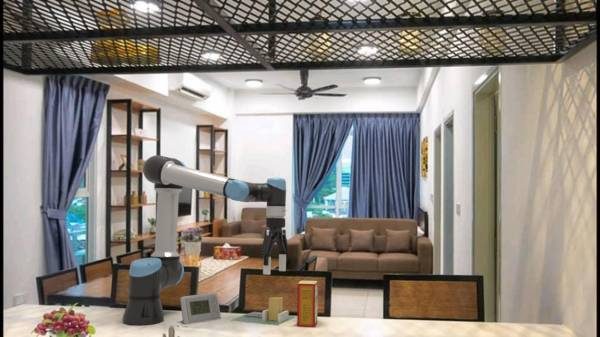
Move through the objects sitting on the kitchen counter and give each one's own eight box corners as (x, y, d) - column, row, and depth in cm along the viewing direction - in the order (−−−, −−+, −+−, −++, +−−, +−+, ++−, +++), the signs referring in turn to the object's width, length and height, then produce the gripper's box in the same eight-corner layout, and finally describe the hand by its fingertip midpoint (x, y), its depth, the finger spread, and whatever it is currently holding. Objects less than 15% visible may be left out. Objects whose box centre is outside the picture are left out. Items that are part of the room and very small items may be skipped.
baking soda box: (300, 321, 188) (301, 279, 189) (317, 322, 187) (317, 279, 189) (297, 326, 178) (297, 282, 180) (314, 327, 178) (314, 283, 179)
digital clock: (183, 328, 174) (184, 298, 175) (175, 323, 182) (176, 294, 183) (225, 323, 183) (225, 295, 184) (216, 319, 190) (216, 291, 191)
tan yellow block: (268, 319, 184) (268, 297, 184) (273, 317, 187) (273, 296, 188) (278, 320, 182) (278, 298, 183) (282, 318, 186) (282, 296, 187)
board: (229, 323, 183) (230, 310, 183) (251, 315, 198) (251, 303, 199) (277, 328, 175) (277, 315, 175) (296, 319, 190) (296, 307, 191)
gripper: (270, 217, 176) (268, 276, 174) (297, 217, 199) (296, 270, 197) (252, 217, 179) (250, 275, 177) (280, 217, 202) (279, 269, 200)
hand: (274, 272), depth 187 cm, fingers open, 13 cm apart
